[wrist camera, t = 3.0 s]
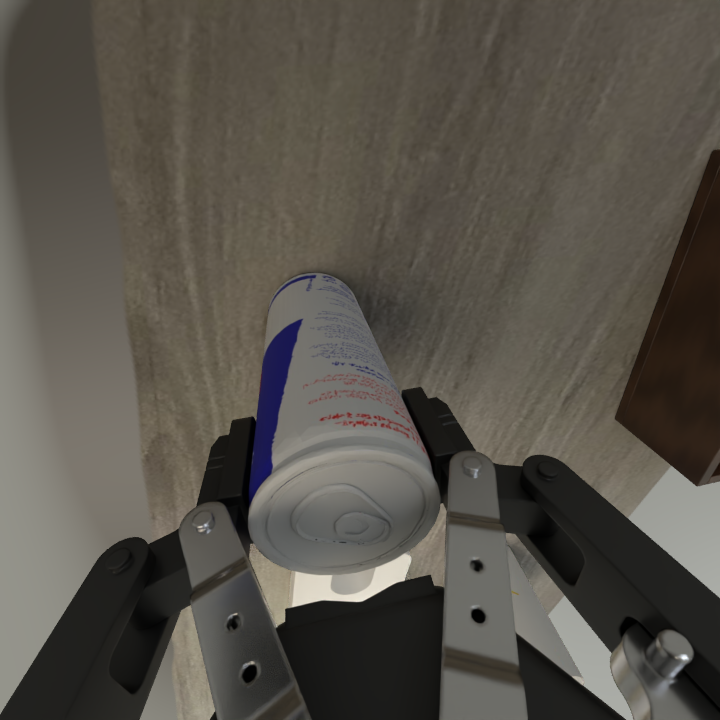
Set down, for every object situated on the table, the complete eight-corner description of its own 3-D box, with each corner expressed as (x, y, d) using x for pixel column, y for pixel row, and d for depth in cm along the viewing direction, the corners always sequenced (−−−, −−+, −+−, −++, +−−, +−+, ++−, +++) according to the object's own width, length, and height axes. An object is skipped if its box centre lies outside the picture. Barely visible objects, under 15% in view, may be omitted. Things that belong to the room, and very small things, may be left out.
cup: (478, 535, 39) (547, 673, 29) (525, 550, 42) (601, 679, 32) (431, 577, 41) (478, 717, 31) (478, 588, 45) (535, 718, 35)
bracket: (371, 617, 44) (395, 751, 34) (286, 628, 41) (285, 774, 32) (402, 514, 35) (447, 656, 25) (295, 521, 32) (299, 680, 23)
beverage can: (265, 269, 21) (232, 460, 8) (360, 270, 22) (464, 441, 9) (271, 354, 24) (253, 594, 11) (355, 351, 25) (428, 569, 12)
